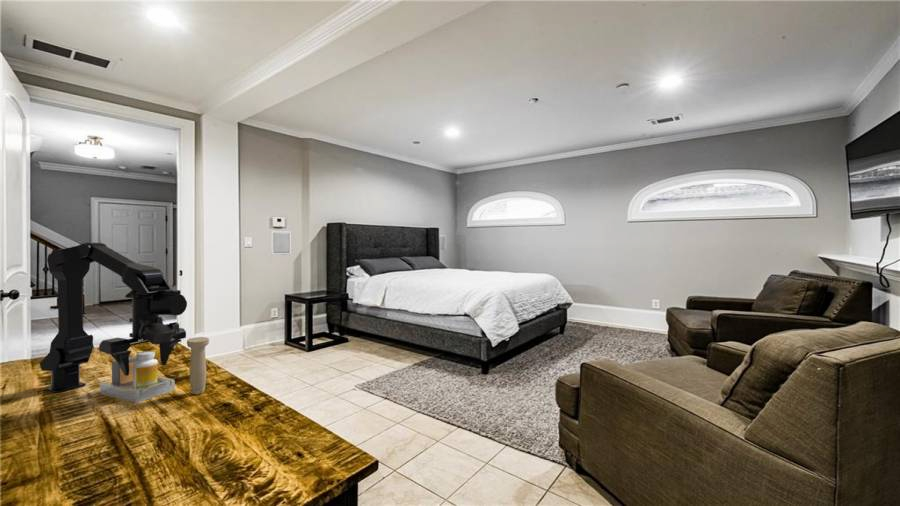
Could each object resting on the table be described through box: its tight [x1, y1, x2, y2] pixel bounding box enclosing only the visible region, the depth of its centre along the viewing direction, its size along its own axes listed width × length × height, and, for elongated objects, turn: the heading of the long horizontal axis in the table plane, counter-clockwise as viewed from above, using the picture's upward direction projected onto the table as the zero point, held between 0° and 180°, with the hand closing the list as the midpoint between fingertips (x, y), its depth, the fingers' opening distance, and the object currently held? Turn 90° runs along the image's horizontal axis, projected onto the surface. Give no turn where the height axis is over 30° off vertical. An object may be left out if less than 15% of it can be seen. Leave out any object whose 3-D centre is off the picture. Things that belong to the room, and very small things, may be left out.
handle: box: [186, 336, 210, 395], centre depth 106 cm, size 5×6×15 cm
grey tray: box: [99, 356, 176, 404], centre depth 106 cm, size 16×10×8 cm, turn 69°
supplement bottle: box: [133, 350, 159, 390], centre depth 105 cm, size 5×5×10 cm
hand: (145, 370), depth 105 cm, fingers open, 9 cm apart
